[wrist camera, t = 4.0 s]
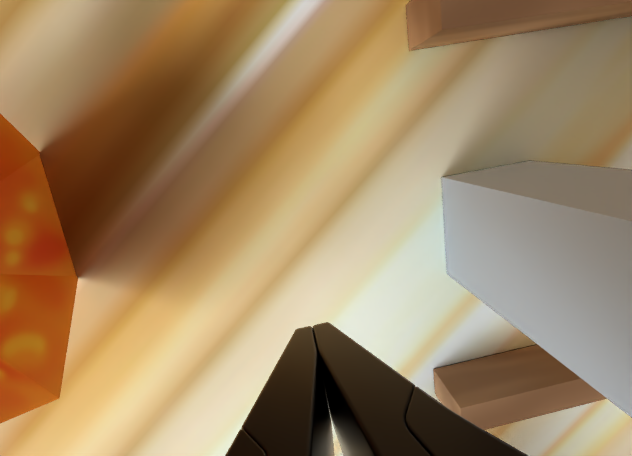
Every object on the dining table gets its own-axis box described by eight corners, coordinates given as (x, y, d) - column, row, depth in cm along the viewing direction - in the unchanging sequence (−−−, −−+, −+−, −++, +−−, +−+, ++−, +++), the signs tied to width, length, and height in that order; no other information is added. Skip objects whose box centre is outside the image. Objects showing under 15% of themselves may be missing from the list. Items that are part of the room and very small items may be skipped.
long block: (527, 256, 16) (935, 446, 6) (446, 273, 15) (741, 503, 6) (529, 160, 14) (1049, 207, 5) (441, 177, 14) (809, 262, 4)
